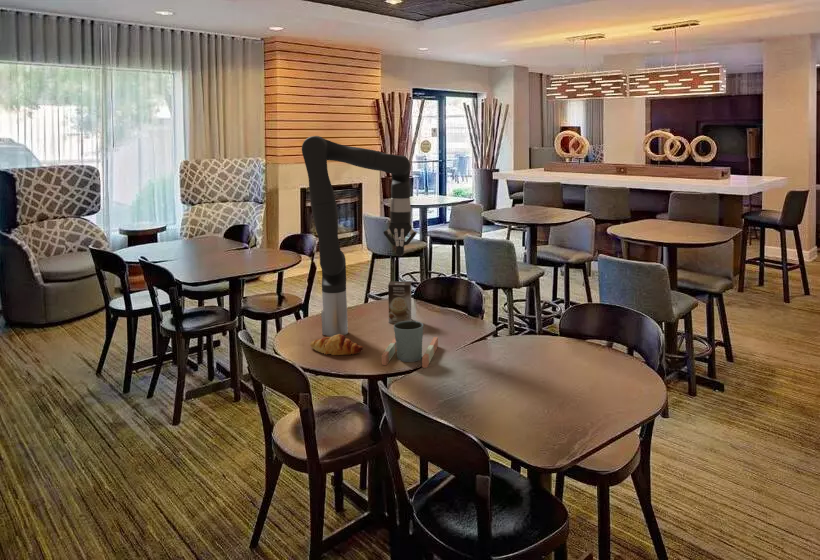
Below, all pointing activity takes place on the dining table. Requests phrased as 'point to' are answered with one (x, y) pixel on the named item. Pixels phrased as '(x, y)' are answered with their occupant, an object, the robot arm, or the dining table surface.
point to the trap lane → (425, 359)
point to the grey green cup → (409, 340)
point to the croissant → (336, 345)
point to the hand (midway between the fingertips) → (400, 255)
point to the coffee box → (399, 301)
